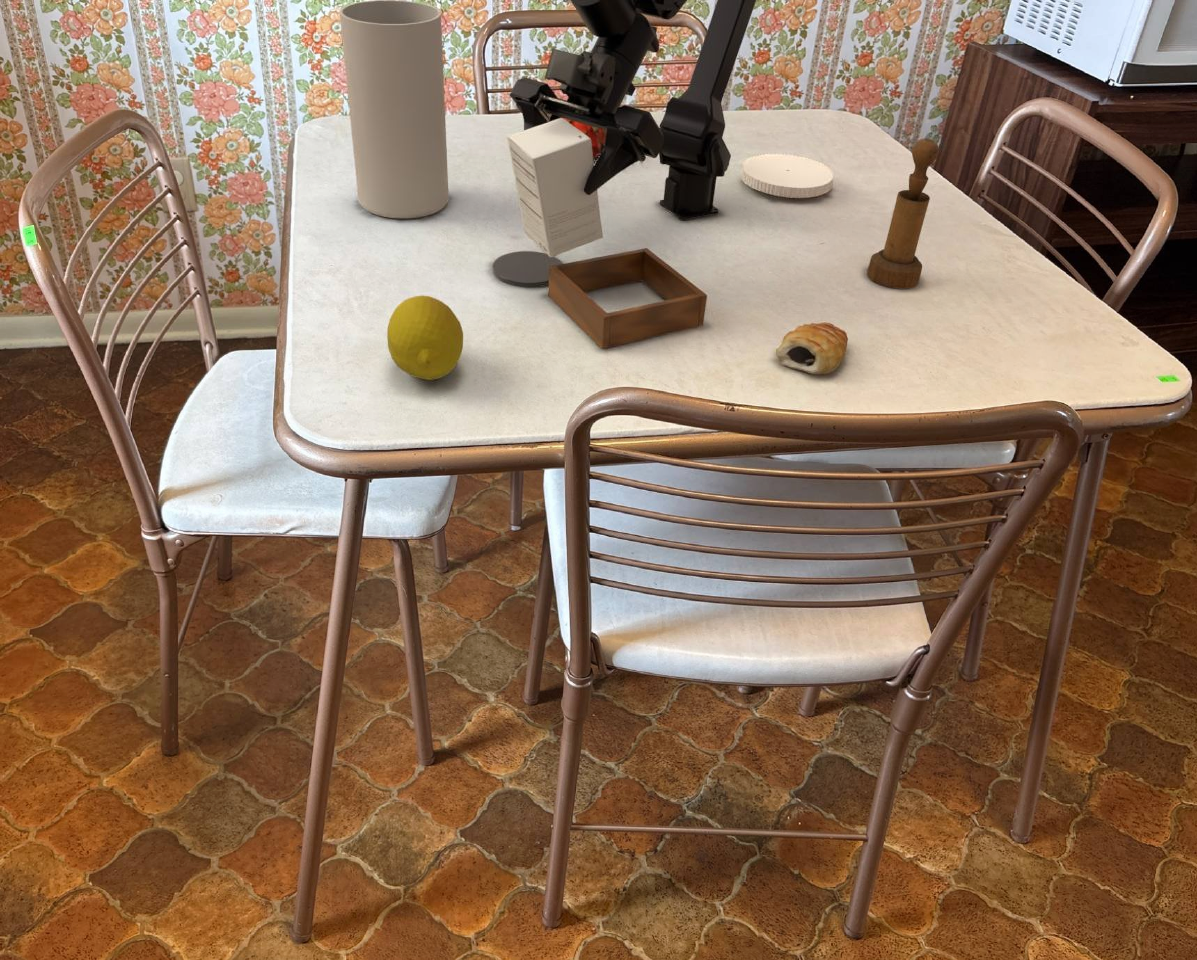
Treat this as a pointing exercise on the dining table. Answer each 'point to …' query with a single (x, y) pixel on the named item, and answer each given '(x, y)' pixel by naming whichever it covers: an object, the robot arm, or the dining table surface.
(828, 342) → the pastry
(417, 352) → the lemon
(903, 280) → the mortar and pestle
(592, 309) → the brown square shallow frame
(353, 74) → the cylinder vase
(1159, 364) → the dining table surface
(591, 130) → the dragon fruit
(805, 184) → the plastic lid
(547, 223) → the white packaging box
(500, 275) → the slate coaster
